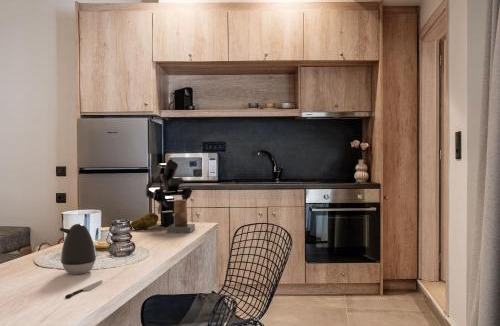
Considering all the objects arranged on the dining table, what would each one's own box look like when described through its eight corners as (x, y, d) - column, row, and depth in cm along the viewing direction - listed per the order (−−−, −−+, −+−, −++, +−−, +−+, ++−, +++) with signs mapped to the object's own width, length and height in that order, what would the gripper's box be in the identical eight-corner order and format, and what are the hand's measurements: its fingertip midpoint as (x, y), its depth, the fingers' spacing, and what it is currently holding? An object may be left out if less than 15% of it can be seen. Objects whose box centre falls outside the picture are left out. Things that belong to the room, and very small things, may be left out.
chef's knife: (112, 281, 141) (102, 280, 142) (112, 277, 141) (102, 276, 142) (74, 300, 123) (63, 299, 123) (74, 296, 123) (64, 295, 123)
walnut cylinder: (174, 226, 227) (173, 201, 227) (175, 224, 233) (174, 199, 233) (187, 226, 228) (186, 200, 227) (187, 224, 234) (186, 199, 233)
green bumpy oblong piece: (136, 227, 242) (135, 211, 242) (160, 228, 240) (160, 212, 239) (128, 230, 234) (128, 213, 234) (154, 230, 231) (153, 214, 231)
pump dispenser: (60, 270, 153) (59, 222, 153) (94, 267, 157) (93, 220, 157) (61, 278, 144) (60, 227, 144) (97, 274, 148) (96, 224, 148)
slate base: (166, 232, 225) (166, 227, 225) (172, 229, 236) (172, 223, 236) (190, 232, 224) (190, 227, 224) (194, 229, 235) (194, 223, 235)
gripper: (154, 172, 235) (161, 197, 225) (190, 171, 243) (199, 194, 234) (149, 187, 242) (157, 212, 232) (185, 186, 250) (193, 209, 241)
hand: (177, 206), depth 235 cm, fingers open, 9 cm apart
